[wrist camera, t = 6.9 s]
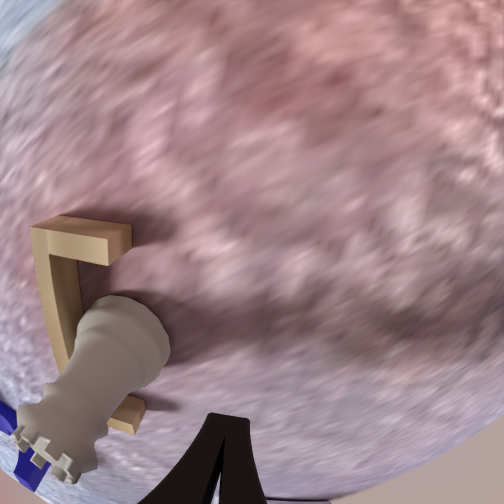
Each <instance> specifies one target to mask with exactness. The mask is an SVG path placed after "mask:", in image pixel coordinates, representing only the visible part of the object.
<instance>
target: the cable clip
mask: <svg viewBox="0 0 504 504" xmlns="http://www.w3.org/2000/svg"><path fill="white" fill-rule="evenodd" d="M17 427H18V425H17V413H16V412H15V411H13V410H12V409H11V408H9V407H8V406H7V405H5V404H4V403H3V402H2V401H0V430H1V431H3V432H4V433H6V434H8V435H9V436H10V435H11V434H13V432H14V431H15V430H16V428H17ZM34 453H35V451H34V450H33V449H32V448H31V447H29V448H28V449H27V451H26V452H25V453H24V452H22V451H20V450H19V457H18V462H17V466H16V468H15V470H14V472H13V473H14V474H15V476H16V477H17V479H18V480H19V481H20V483H21V484H22V485H24V486H25V487H27V488H28V489H30V490H31V491H33V492H35V490H36V489H37V487H38V485H39V484H40V482H41V480H42V478H43V477H44V475H45V473H46V472H47V470H48V468H49V467H50V465H51V463H49V462H48V461H46V462H45V464H44V465H43V467H42V469H40V468H39V467H38V466H36V465H35V464H34V463H33V462H31V461H30V459H31V458H32V456H33V455H34Z"/></svg>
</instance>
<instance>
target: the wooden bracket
mask: <svg viewBox="0 0 504 504" xmlns="http://www.w3.org/2000/svg"><path fill="white" fill-rule="evenodd" d="M30 230H31V240H32V250H33V258H34V265H35V272H36V278H37V284H38V290H39V295H40V300H41V305H42V310H43V315H44V319H45V323H46V327H47V331H48V335H49V339H50V343H51V347H52V350H53V354H54V357H55V360H56V364H57V367H58V370H59V373H60V375H61V373H62V372H63V370H64V368H65V366H66V365H67V363H68V361H69V360H70V358H71V356H72V354H73V352H74V349H75V339H76V337H77V327H78V324H79V322H80V320H81V318H82V317H83V316H84V314H83V307H82V300H81V293H80V285H79V276H78V267H77V260H81V261H86V262H91V263H96V264H101V265H106V266H109V265H111V264H112V263H113V262H114V261H116V260H117V259H118V258H120V257H121V256H122V255H124V254H125V253H126V252H128V251H129V250H130V249H132V225H130V224H122V223H115V222H107V221H99V220H91V219H84V218H76V217H68V216H60V215H58V216H55V217H53V218H50V219H48V220H45V221H43V222H41V223H38V224H36V225H34V226H31V227H30ZM145 412H146V407H145V401H144V400H143V399H139V398H136V397H132V396H129V395H127V396H126V397H125V399H124V400H123V401H122V402H121V404H120V405H119V406H118V407H117V408H116V410H115V411H114V412H113V413H112V415H111V417H110V419H109V421H108V422H107V425H108V426H109V427H112V428H115V429H117V430H120V431H123V432H126V433H130V434H133V435H135V433H136V431H137V429H138V427H139V425H140V423H141V420H142V418H143V416H144V414H145Z"/></svg>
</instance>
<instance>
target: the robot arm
mask: <svg viewBox="0 0 504 504" xmlns="http://www.w3.org/2000/svg"><path fill="white" fill-rule="evenodd" d="M220 472H221V476H220ZM219 476H220V489H219V494H217V495H215V498H214V504H331V502H296V501H275V500H266V499H265V496H264V493H263V490H262V487H261V484H260V481H259V477H258V473H257V469H256V465H255V461H254V457H253V452H252V445H251V438H250V420H249V419H247V418H242V417H235V416H229V415H223V414H217V413H212V412H211V413H209V414H208V415H207V418H206V420H205V422H204V424H203V426H202V428H201V429H200V431H199V433H198V435H197V436H196V438H195V439H194V441H193V442H192V444H191V445H190V447H189V448H188V450H187V451H186V452H185V454H184V455H183V456H182V458H181V459H180V460H179V462H178V463H177V464H176V465H175V466H174V468H173V469H172V470H171V471H170V472H169V474H168V475H167V476H166V477H165V478H164V479H163V480H162V481H161V482H160V483H159V484H158V485H157V486H156V487H155V488H154V489H153V490H152V491H151V492H150V493H149V494H148V495H147V496H146V497H145V498H144V499H142V500H141V501H140V502H139V503H138V504H211V502H212V498H213V495H214V492H215V489H216V485H217V482H218V479H219Z"/></svg>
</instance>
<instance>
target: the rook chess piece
mask: <svg viewBox="0 0 504 504" xmlns="http://www.w3.org/2000/svg"><path fill="white" fill-rule="evenodd" d="M170 353H171V350H170V343H169V336H168V335H167V333H166V331H165V329H164V328H163V326H162V324H161V322H160V321H159V319H158V317H157V316H156V315H155V314H154V313H152V312H151V311H150V310H149V309H148V308H147V307H146V306H145V305H143V304H141V303H139V302H137V301H135V300H133V299H131V298H128V297H121V296H113V295H108V296H106V297H103V298H100V299H97V300H96V301H95V302H94V303H93V305H92V306H91V307H90V309H89V310H87V312H86V313H85V314H84V316H83V317H82V318H81V320H80V322H79V324H78V327H77V337H76V339H75V349H74V352H73V354H72V356H71V358H70V360H69V361H68V363H67V365H66V366H65V368H64V370H63V372H62V373H61V375H60V376H59V377H58V379H57V380H56V381H55V382H54V383H46V384H45V386H44V387H43V398H42V400H41V401H40V402H39V403H35V404H26V405H19V407H18V408H17V410H16V411H17V425H18V427H17V428H16V430H15V431H14V432H13V434H12V435H11V436H12V437H13V438H14V439H15V441H14V443H15V445H16V446H17V447H18V448H19V450H20V451H22V452H24V453H25V452H26V451H27V449H28V448H29V447H31V448H32V449H33V450H34V451H35V453H34V455H33V456H32V458H31V459H30V461H31V462H33V463H34V464H35V465H36V466H38V467H39V468H40V469H42V467H43V465H44V464H45V462H46V461H48V462H49V463H51V464H52V465H54V466H55V467H54V469H53V470H52V472H51V475H52V476H53V477H54V478H56V479H58V480H60V481H62V482H64V481H65V479H66V480H67V481H68V482H70V483H71V484H76V483H77V482H78V480H79V478H80V476H81V474H82V473H86V472H89V471H92V470H95V469H97V466H98V461H97V457H96V453H95V449H94V444H95V441H96V440H97V439H99V438H102V437H104V436H106V435H107V433H108V425H107V422H108V421H109V419H110V417H111V415H112V413H113V412H114V411H115V410H116V408H117V407H118V406H119V405H120V404H121V402H122V401H123V400H124V399H125V397H126V396H127V395H128V394H129V393H130V392H135V391H137V390H138V389H139V388H141V387H145V386H146V385H148V384H149V383H151V382H152V381H153V380H155V379H156V378H157V377H158V376H159V374H160V372H161V369H162V367H164V366H165V365H166V364H167V361H168V358H169V356H170Z"/></svg>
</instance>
